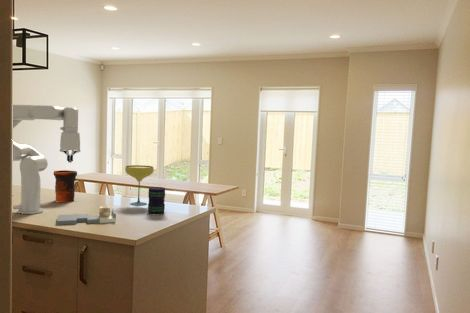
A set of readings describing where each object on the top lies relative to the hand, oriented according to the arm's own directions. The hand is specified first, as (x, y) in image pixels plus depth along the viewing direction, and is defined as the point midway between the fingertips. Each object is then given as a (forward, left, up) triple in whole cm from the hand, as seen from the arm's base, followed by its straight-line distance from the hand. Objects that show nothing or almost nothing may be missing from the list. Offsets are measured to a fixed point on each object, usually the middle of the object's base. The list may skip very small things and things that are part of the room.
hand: (69, 162), depth 212 cm
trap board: (+9, -19, -29) cm, 36 cm away
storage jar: (+48, -7, -29) cm, 57 cm away
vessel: (-3, +41, -29) cm, 50 cm away
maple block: (+18, -20, -27) cm, 38 cm away
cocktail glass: (+42, +22, -29) cm, 56 cm away
